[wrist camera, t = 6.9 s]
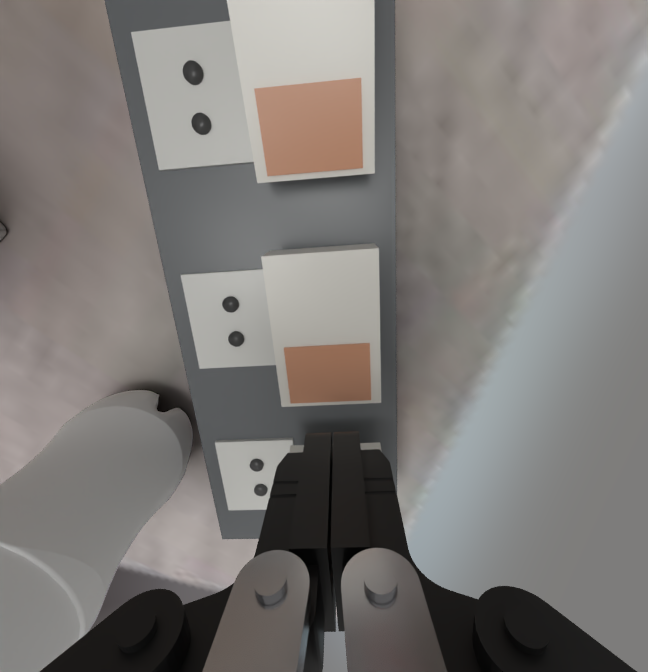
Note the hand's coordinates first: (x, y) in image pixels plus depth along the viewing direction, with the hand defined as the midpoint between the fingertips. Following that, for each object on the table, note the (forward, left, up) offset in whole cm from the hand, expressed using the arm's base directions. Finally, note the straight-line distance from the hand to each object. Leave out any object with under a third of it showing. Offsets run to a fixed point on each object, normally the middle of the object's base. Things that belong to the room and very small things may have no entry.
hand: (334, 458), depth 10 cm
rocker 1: (-11, 0, -5) cm, 12 cm away
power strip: (-2, -2, -12) cm, 12 cm away
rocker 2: (-3, 0, -5) cm, 6 cm away
